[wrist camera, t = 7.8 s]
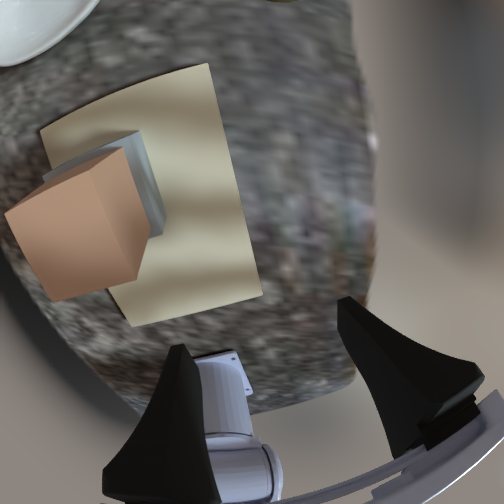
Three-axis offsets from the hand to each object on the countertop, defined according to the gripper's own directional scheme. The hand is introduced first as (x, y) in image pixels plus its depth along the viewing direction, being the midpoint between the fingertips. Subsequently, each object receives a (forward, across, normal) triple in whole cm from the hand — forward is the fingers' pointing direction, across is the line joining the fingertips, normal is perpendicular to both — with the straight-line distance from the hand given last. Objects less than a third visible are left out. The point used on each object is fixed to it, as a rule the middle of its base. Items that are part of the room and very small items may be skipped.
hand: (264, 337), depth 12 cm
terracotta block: (+6, +7, -6) cm, 11 cm away
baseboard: (+10, +5, -3) cm, 12 cm away
